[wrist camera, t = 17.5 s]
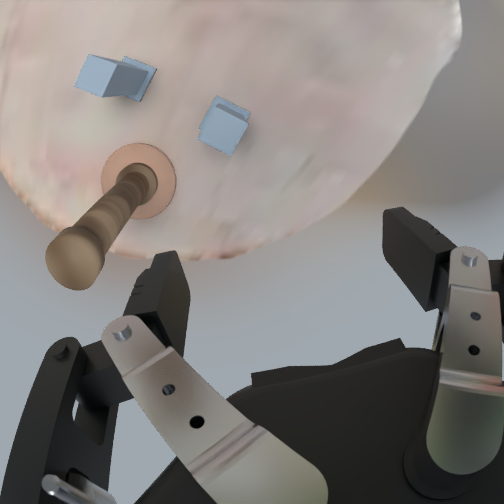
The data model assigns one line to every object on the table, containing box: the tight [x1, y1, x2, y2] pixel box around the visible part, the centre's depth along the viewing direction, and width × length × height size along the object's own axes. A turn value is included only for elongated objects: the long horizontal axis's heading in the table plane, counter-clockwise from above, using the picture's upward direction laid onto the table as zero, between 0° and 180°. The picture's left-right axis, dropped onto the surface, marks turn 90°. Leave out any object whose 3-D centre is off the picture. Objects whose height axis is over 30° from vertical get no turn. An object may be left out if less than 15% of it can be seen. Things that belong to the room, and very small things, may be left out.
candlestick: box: [45, 163, 158, 290], centre depth 31 cm, size 6×6×22 cm
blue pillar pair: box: [74, 54, 250, 156], centre depth 31 cm, size 19×5×13 cm, turn 61°
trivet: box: [101, 143, 176, 219], centre depth 41 cm, size 11×11×1 cm
